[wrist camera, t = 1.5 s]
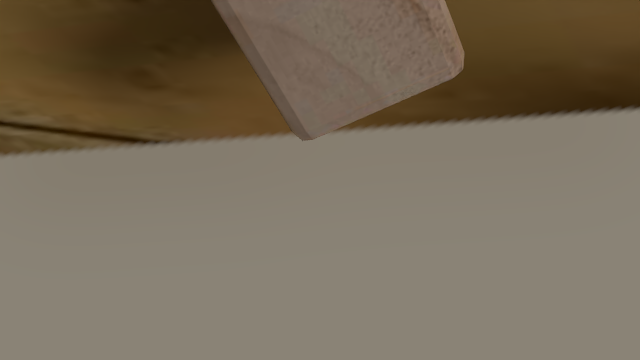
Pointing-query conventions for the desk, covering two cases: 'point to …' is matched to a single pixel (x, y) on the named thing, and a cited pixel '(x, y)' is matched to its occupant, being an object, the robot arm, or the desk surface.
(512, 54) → the desk surface
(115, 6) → the desk surface
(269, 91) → the wooden block
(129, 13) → the desk surface
